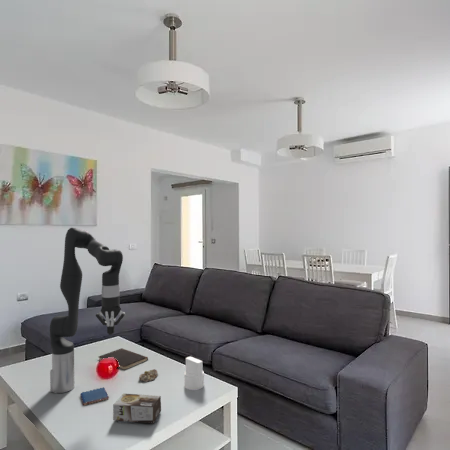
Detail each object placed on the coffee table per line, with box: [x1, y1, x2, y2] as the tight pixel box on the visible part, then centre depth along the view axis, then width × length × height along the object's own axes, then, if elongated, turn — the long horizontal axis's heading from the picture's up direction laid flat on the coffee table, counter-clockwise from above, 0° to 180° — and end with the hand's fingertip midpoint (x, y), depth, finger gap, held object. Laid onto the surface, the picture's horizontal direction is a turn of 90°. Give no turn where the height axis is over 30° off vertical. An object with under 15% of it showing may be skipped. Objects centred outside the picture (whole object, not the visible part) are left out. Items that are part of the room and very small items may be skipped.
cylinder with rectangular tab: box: [183, 356, 205, 391], centre depth 158 cm, size 9×9×12 cm
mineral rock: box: [138, 368, 159, 383], centre depth 167 cm, size 11×4×8 cm
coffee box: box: [112, 393, 162, 424], centre depth 133 cm, size 9×6×16 cm
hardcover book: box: [98, 348, 149, 371], centre depth 189 cm, size 16×23×2 cm
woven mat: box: [79, 387, 110, 406], centre depth 148 cm, size 10×11×2 cm
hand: (111, 334), depth 149 cm, fingers closed
